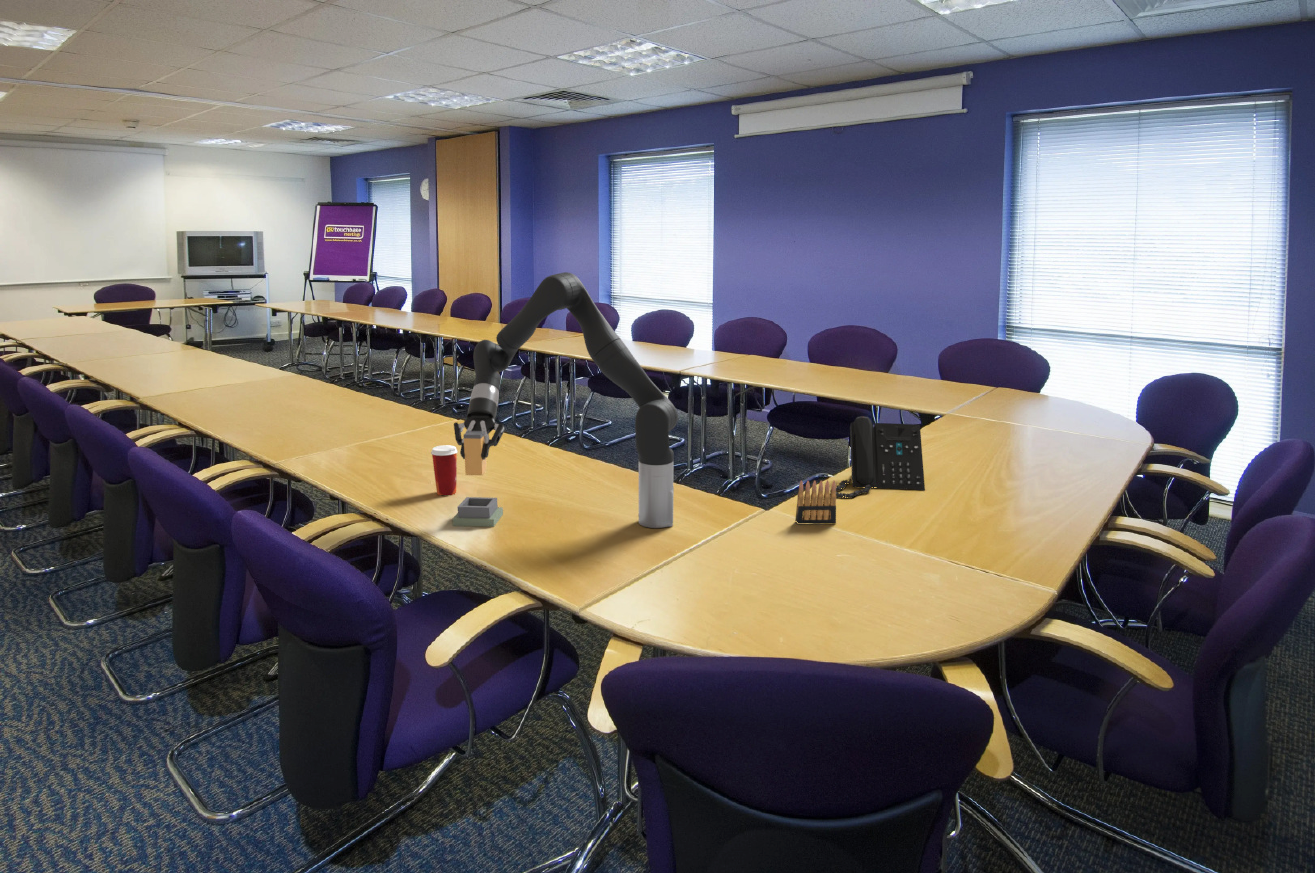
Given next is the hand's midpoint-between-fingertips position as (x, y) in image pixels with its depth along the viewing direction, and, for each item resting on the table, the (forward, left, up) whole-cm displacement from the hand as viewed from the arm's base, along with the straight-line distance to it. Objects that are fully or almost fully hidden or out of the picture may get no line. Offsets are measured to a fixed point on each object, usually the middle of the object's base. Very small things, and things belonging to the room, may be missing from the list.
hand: (473, 457), depth 212 cm
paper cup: (+16, -25, -18) cm, 35 cm away
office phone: (-114, -42, -18) cm, 123 cm away
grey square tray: (0, -2, -18) cm, 18 cm away
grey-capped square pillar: (0, -2, -5) cm, 5 cm away
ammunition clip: (-91, -6, -18) cm, 93 cm away
